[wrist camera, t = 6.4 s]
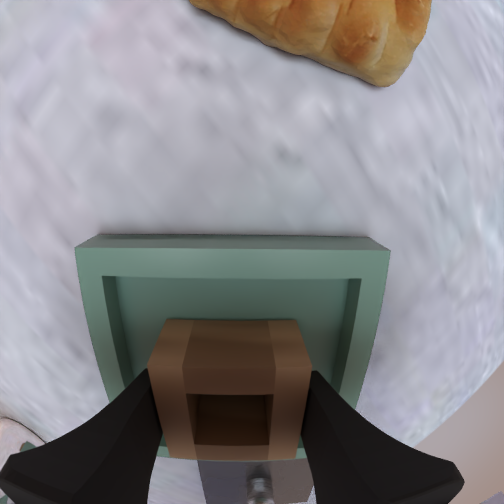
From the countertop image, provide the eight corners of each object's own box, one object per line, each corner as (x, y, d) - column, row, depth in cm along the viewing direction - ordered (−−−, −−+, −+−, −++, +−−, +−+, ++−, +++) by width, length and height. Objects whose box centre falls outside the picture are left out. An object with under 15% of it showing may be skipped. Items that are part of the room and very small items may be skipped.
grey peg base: (304, 489, 17) (313, 536, 13) (207, 491, 17) (204, 540, 12) (321, 434, 15) (338, 494, 11) (197, 437, 15) (190, 501, 10)
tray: (331, 428, 15) (339, 453, 13) (136, 426, 14) (128, 451, 12) (368, 237, 12) (390, 250, 10) (97, 234, 11) (74, 247, 9)
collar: (286, 410, 13) (295, 458, 10) (179, 409, 13) (170, 457, 10) (296, 319, 12) (312, 366, 9) (166, 318, 11) (147, 364, 8)
